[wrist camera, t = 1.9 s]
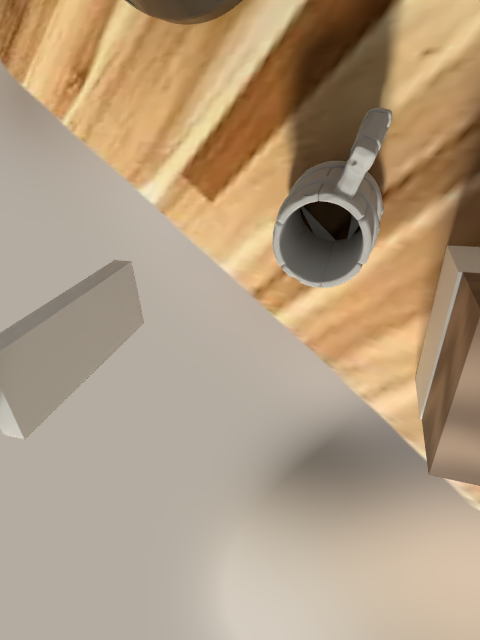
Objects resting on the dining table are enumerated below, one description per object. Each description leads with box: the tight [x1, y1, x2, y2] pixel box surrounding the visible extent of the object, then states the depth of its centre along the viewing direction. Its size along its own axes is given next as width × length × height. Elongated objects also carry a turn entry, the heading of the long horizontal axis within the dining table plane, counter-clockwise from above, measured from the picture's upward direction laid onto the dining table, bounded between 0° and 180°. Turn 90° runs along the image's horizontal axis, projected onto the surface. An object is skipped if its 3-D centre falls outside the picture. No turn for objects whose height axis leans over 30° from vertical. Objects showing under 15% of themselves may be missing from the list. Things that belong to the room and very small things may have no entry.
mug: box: [273, 107, 392, 288], centre depth 27 cm, size 8×12×12 cm, turn 161°
